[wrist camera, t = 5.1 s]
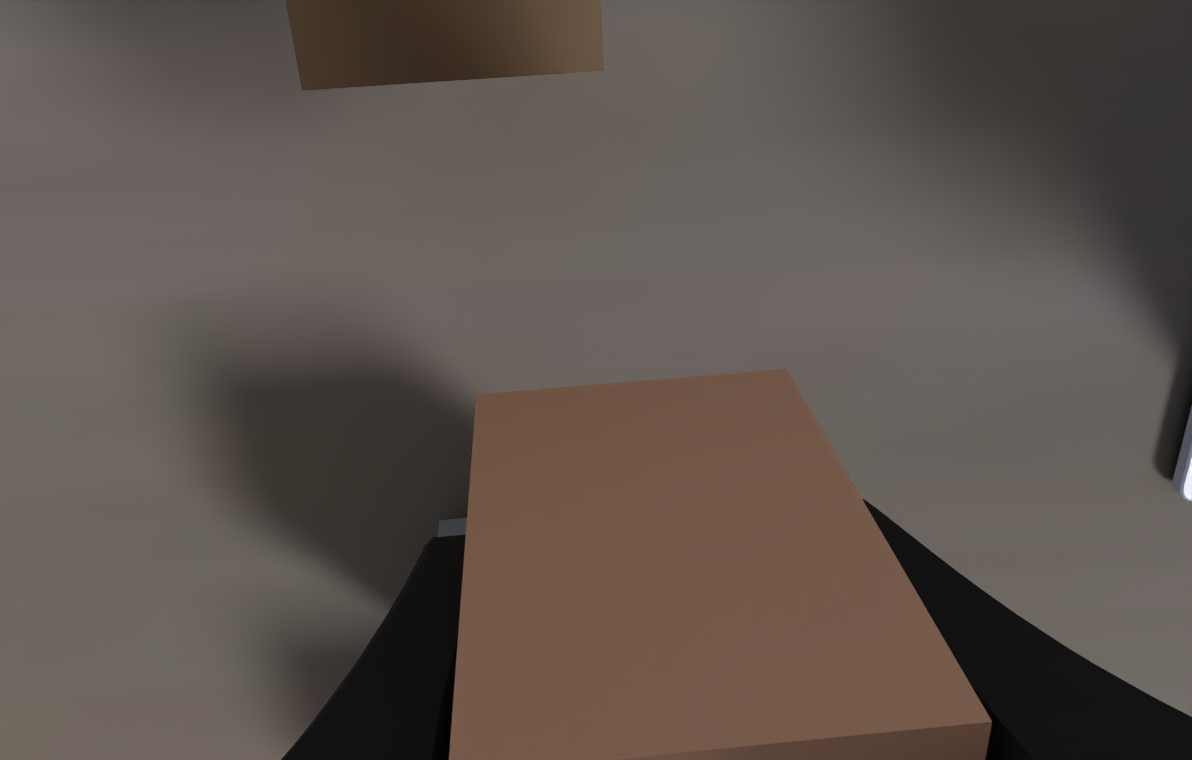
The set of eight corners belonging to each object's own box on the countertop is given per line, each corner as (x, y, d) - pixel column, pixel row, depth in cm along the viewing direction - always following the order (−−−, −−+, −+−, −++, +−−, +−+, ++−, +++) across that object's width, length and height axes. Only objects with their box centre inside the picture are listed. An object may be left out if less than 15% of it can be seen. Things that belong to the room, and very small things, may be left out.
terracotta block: (785, 369, 12) (992, 721, 7) (776, 612, 14) (935, 1040, 9) (475, 394, 12) (447, 775, 7) (506, 637, 14) (501, 1090, 9)
